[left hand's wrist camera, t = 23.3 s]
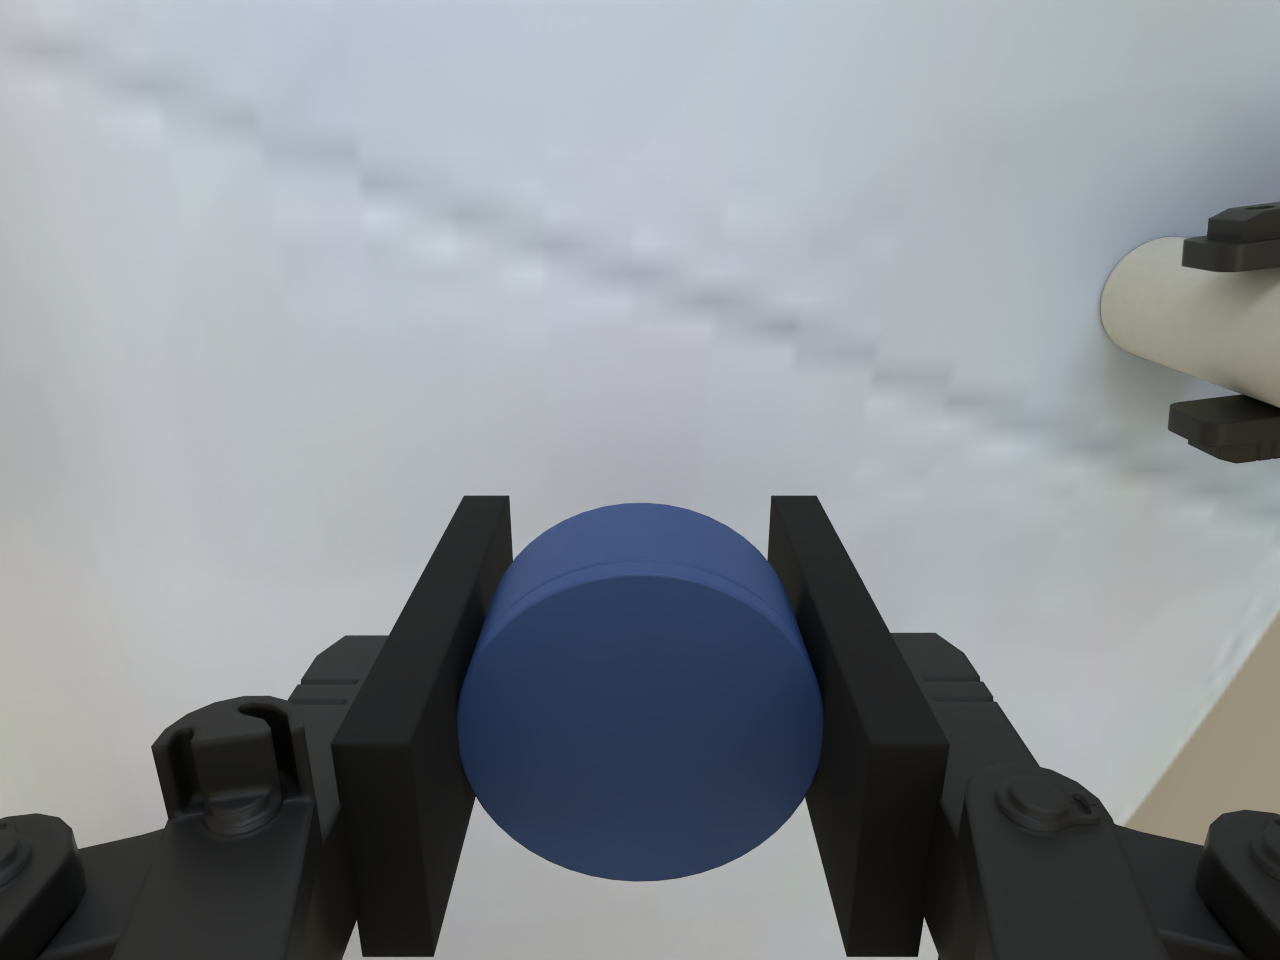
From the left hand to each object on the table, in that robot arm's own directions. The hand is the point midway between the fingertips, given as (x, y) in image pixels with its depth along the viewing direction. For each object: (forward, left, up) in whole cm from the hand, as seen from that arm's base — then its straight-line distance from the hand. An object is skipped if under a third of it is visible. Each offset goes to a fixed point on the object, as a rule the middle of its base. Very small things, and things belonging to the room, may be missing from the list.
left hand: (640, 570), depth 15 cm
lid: (0, 0, +4) cm, 4 cm away
